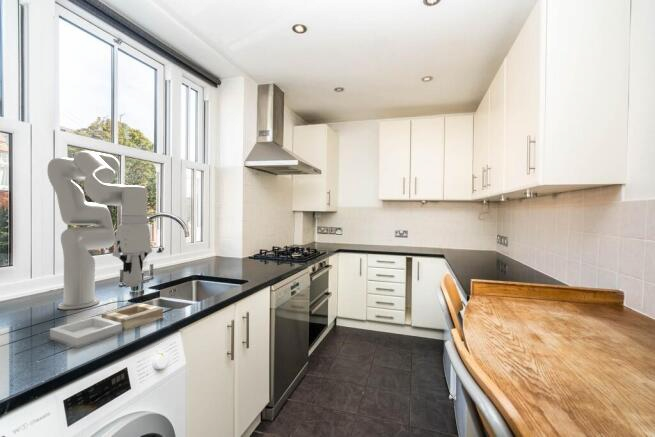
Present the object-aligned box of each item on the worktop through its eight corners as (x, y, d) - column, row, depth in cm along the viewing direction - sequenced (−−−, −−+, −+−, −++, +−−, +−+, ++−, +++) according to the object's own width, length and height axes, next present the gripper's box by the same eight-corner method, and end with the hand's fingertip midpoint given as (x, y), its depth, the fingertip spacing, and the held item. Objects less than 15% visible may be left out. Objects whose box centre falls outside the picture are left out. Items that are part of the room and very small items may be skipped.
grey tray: (50, 338, 85) (50, 328, 85) (95, 324, 96) (95, 316, 96) (76, 348, 80) (76, 338, 80) (121, 332, 91) (122, 323, 91)
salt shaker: (132, 288, 97) (133, 250, 97) (118, 286, 99) (119, 249, 98) (146, 284, 103) (147, 248, 103) (132, 282, 104) (133, 247, 104)
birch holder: (101, 323, 98) (101, 313, 97) (139, 311, 109) (139, 302, 109) (125, 330, 92) (126, 319, 92) (162, 317, 104) (162, 308, 104)
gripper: (149, 219, 109) (148, 267, 110) (101, 220, 94) (100, 275, 95) (163, 220, 106) (161, 269, 107) (116, 221, 91) (114, 278, 92)
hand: (133, 271), depth 101 cm, fingers closed on salt shaker, 3 cm apart
